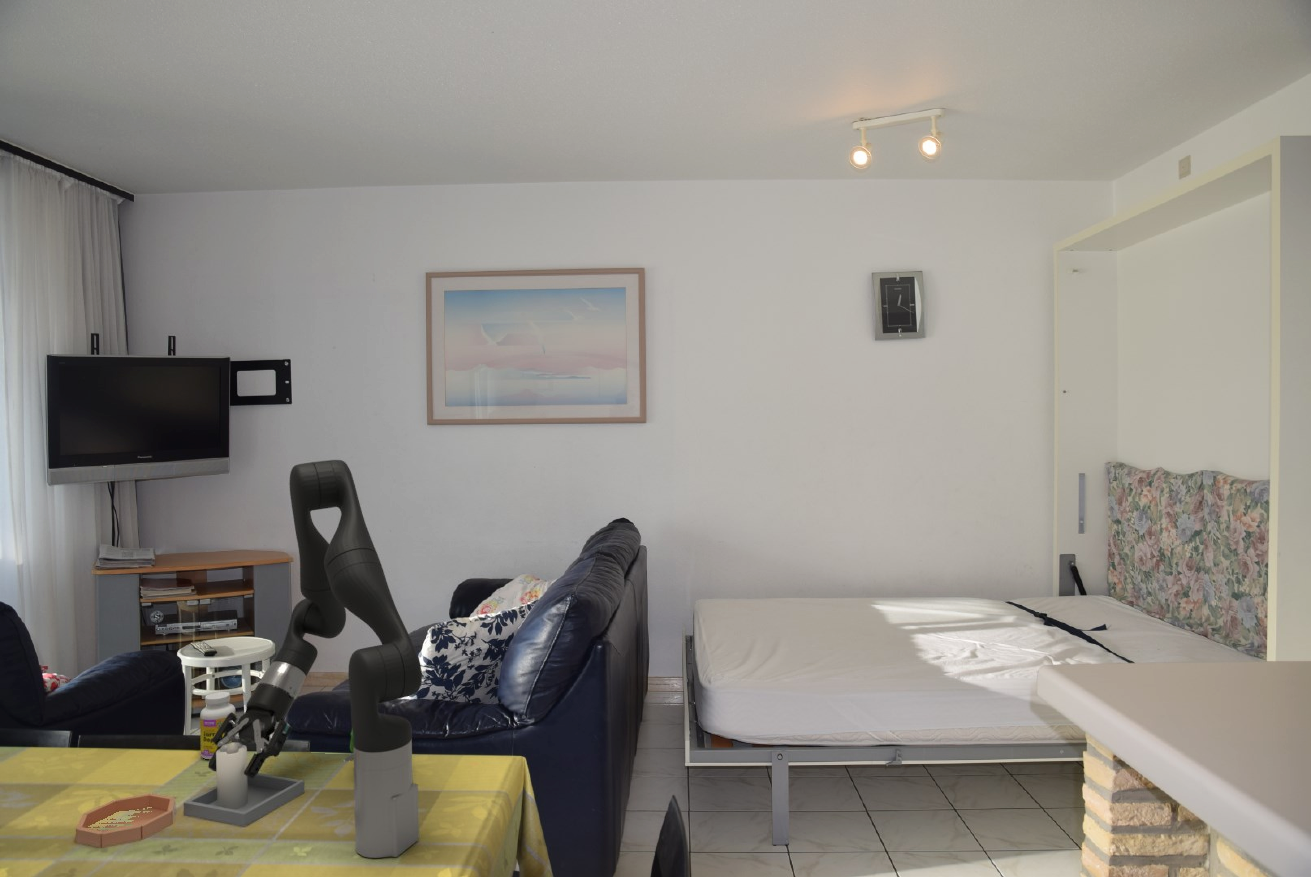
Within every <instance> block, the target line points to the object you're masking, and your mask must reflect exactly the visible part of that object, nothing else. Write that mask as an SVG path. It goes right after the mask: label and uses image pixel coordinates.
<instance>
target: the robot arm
mask: <svg viewBox="0 0 1311 877" xmlns="http://www.w3.org/2000/svg"><path fill="white" fill-rule="evenodd" d="M289 494H290V504H291V509H292V518H293V524H294V529H295V530H294V531H295V536H296V541H297V548H298V554H299V581H300V582H299V585H300V586H299V587H300V593H301V594H302V596H303V597H304V599H301V600H300V601H298V602H297V604H296V605H294V608H293V610H292V612H291V616H290V620H289V623H288V627H287V632H286V634H285V638H284V640H283V643H282V646H281V648H280V649H279V650H278V652H277V654H276V656H274V659H273V661H272V662H271V664H270V665H269V667H267V670H265V672H264V673H263V675H262V677H261V678H260V680H259V681H258V683H257V685H256V687H255V689H254V691H253V692H252V694H251V695H250V697H249V699H248V701H247V703H246V706H245V707H246V710H245V712H244V713H243V714H242V715H241V716H240V715H236V713H235V714H234V713H230V714H229V715H228V716H227V718H226V719H225V721H224V722H223V724H222V725H221V727H220V728H219V730H218V731H217V733H216V734H215V736H214V737H213V739H212V742H213V743H215V744H216V745H217V749H216V751H215V753H214V755H213V757H212V758H211V760H208V761H209V762H208V766H207V767H208V768H209V769H210V770H211V771H213V772H216V773H217V769H216V752H217V750H219V749H220V748H221V747H222V746H223V745H225V744H227V743H228V742H230V741H232V742H235V743H236V742H238V743H240V744H241V745H243V743H246V744H247V743H252V744H255V745H256V753H254V754H253V755H252V756H251V759H250V760H249V763H247V768H246V769H245V771H244V774H245V775H246V776H247V777H249V778H254V777H255V775H257V773H260V770H261V768H262V766H263V764H264V763H265V761H266V759H269V758H270V757H275V758H276V757H278V756H279V755H280V753H281V752H282V749H283V747H284V746H285V743H286V741H287V739H288V737H289V735H290V733H291V731H292V725H290V723H288V722H287V721H286V720H285V718H286V717H287V714H289V711H290V709H291V707H292V706H293V704H294V702H295V701H296V698H297V697H298V695H299V693H300V692H301V689H302V687H303V684H304V682H305V680H306V678H307V676H308V674H309V672H310V671H311V669H312V667H313V665H314V663H315V661H316V660H317V657H318V655H319V654H318V648H316V646H315V645H314V644H313V643H311V642H309V641H307V640H306V639H304V636H305V635H306V634H308V635H312V636H315V637H319V638H322V639H323V638H324V639H329V640H330V639H333V638H336V637H338V636H339V635H340V634H341V633H342V632H343V630H344V628H345V625H346V622H347V613H346V610H348V612H350V613H351V614H353V615H354V616H355V617H357V618H358V619H359V620H361V621H362V622H364V624H366V625H367V626H368V627H369V628H370V629H371V630H372V631H373V632H374V634H375V635H376V636H377V639H379V641H380V643H381V644H380V645H379V644H377V645H374V646H367V647H363V648H359V649H356V650H355V651H354V652H353V653H351V656H350V658H349V661H348V662H349V663H348V672H347V673H348V686H349V699H350V716H351V731H352V730H353V745H354V746H353V748H354V753H353V788H354V790H353V794H354V796H353V797H354V828H355V830H354V833H355V836H354V838H355V841H354V843H355V851H356V853H357V854H359V855H360V856H362V857H364V858H369V859H371V858H372V859H374V858H375V859H380V858H381V859H382V858H387V857H393V858H397V857H399V856H400V855H401V854H403V853H404V852H405V851H406V850H408V849H409V848H410V847H411V846H412V845H414V844H415V843H416V842H418V840H419V839H420V835H419V834H420V833H419V829H420V828H419V823H420V822H419V785H418V784H417V783H414V782H413V749H412V748H413V743H412V740H413V739H412V738H413V736H412V735H413V733H412V732H413V731H412V725H411V722H410V721H409V719H407V718H405V717H402V716H399V715H393V714H387V713H385V714H384V713H382V712H379V706H378V705H379V704H381V703H386V702H391V701H395V700H398V699H399V700H400V699H403V698H407V697H410V696H412V695H415V694H416V693H418V692H419V690H420V689H421V686H422V682H423V673H422V672H423V671H422V670H423V669H422V665H421V662H420V657H419V655H418V653H417V650H416V648H415V645H414V643H413V641H412V638H411V636H410V634H409V632H408V630H407V628H406V627H405V626H406V625H405V624H404V622H403V619H402V617H401V615H400V614H399V611H398V609H397V606H396V604H395V602H394V601H395V600H394V599H393V597H392V593H391V590H390V587H389V585H388V582H387V578H386V576H385V571H384V569H383V566H382V564H381V560H380V557H379V554H378V552H377V550H376V547H375V544H374V542H373V540H372V537H371V534H370V533H369V530H368V527H367V524H366V521H365V517H364V515H363V511H362V507H361V502H360V499H359V496H358V492H357V488H356V484H355V481H354V478H353V474H352V472H351V470H350V467H349V466H348V464H347V462H345V461H344V460H341V459H329V460H319V461H312V462H311V461H310V462H304V463H299V464H295V465H294V466H293V467H292V468H291V470H290V473H289ZM332 508H338V509H339V510H340V518H339V522H338V524H337V528H336V530H335V532H334V534H333V536H332V538H331V539H330V543H329V542H328V540H326V539H325V537H324V536H323V535H322V534H321V533H320V531H319V530H318V529H317V528H316V525H315V524H314V521H313V519H312V518H313V517H312V516H311V512H312V511H317V510H318V511H319V510H324V509H326V510H327V509H332ZM224 733H225V734H224ZM223 734H224V736H223V738H222V739H220V738H221V737H222V735H223ZM271 735H272V736H271ZM232 742H230V743H232Z"/></svg>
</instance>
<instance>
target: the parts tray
mask: <svg viewBox="0 0 1311 877" xmlns="http://www.w3.org/2000/svg"><path fill="white" fill-rule="evenodd" d="M304 793H305V780H300V779H295V778H291V777H289V778H288V777H284V776H277V775H274V774H273V775H271V774H265V773H262V772H261V773H260V772H258V773H257V775H255V777H254V778H249V777H248V803H247V804H246V805H244V806H243V807H240V808H238V809H229V808H223V807H218V806H217V785H216V786H214V787H212V788H210V789H208V790H206V791H204V792H201V793H200V794H198V795H196V796H194V797H192V798H190V799H188V800H186V801H184V802H183V816H188V817H192V818H196V819H200V820H201V819H202V820H206V821H212V822H217V823H222V824H227V825H232V826H236V827H242V828H246V827H248V826H250V825H251V824H253V823H254V822H257V821H258V820H259V819H261V818H263V817H265V816H267V815H268V814H270V813H272V812H273V811H275V810H276V809H279V808H281V807H282V806H284V805H285V804H287V803H288V802H290V801H292V800H294V799H296V798H297V797H299V796H301V795H302V794H304Z"/></svg>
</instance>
